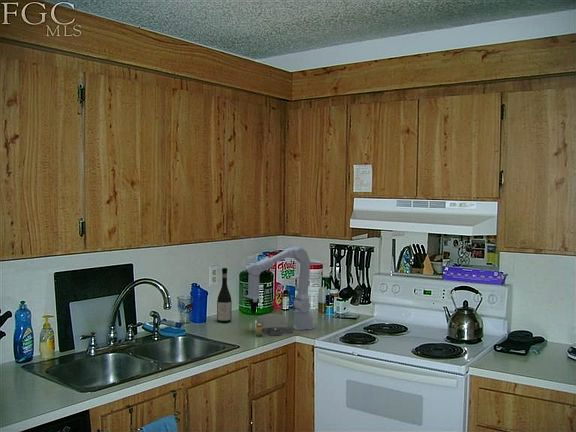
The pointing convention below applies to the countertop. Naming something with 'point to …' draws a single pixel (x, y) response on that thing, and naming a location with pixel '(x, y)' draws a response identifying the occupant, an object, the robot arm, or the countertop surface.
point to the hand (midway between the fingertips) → (253, 313)
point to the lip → (277, 330)
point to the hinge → (272, 320)
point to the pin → (259, 329)
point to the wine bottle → (224, 301)
